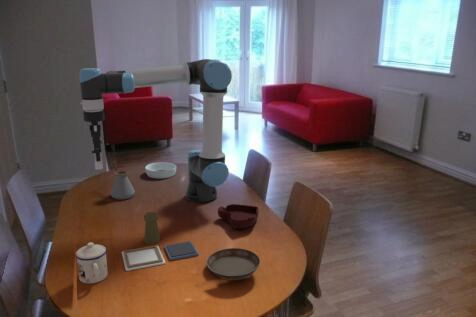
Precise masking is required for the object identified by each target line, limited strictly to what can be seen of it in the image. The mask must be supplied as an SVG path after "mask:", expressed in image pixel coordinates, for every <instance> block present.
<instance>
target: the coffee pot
mask: <svg viewBox="0 0 476 317" xmlns="http://www.w3.org/2000/svg"><path fill="white" fill-rule="evenodd" d="M111 165H113V167H114V169H115V172H114V176H115V180H114V183H113V185H112V188H111V190H110V192H109V194H110V196H111V198H113V199H115V200H118V201H119V200H120V201H122V200H129V199H131V198H133V196H134V195H135V193H136V191H135V189H134V187H133V184H132V183H131V181H130V179H129V177H128V175H129V171H127V170H119V169H118V166H117V165H116V161H114V160H112V162H111Z"/></svg>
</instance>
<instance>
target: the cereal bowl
mask: <svg viewBox="0 0 476 317" xmlns="http://www.w3.org/2000/svg"><path fill="white" fill-rule="evenodd" d="M144 169H145V174H146V175H147V177H149V178H152V179H156V180H157V179H159V180H160V179H161V180H163V179H168V178H172V177H174V175H175V174H176V173H177V165H176V164H174V163H172V162H165V161H164V162H163V161H162V162H161V161H160V162H154V163H153V162H151V163H149V164H146V166H145V167H144Z"/></svg>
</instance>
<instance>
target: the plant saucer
mask: <svg viewBox="0 0 476 317" xmlns="http://www.w3.org/2000/svg"><path fill="white" fill-rule="evenodd" d="M260 265H261V258H260V256H259V255H258V254H257V253H256V252H254V251H251V250H250V249H245V248H240V247H239V248H238V247H234V248H233V247H231V248H229V247H228V248H224V249H223V248H222V249H220V250H217V251H215V252H213V253H211V254H210V255H209V256H208V257H207V259H206V266H207V268H208V269H209V270H210V272H212V274H214V275H215V276H217V277H218V278H220V279H223V280H228V281H229V280H231V281H234V280H235V281H236V280H237V281H238V280H244V279H245V278H248V277H250V276H252V275H253V274H254V273H255V272H256V271H257V270H258V268H259V267H260Z"/></svg>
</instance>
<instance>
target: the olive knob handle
mask: <svg viewBox="0 0 476 317" xmlns="http://www.w3.org/2000/svg"><path fill="white" fill-rule="evenodd" d="M158 219H159V215H158V214H157V212H155V211H148V212H146V213H144V216H143V220H144V222H145V224H144V225H145V226H144V228H145V229H144V239H143V240H144V241H143V242H144V243H146V244H151V245H152V244H157V243H160V241H161V236H160V231H159V225H158Z"/></svg>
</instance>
